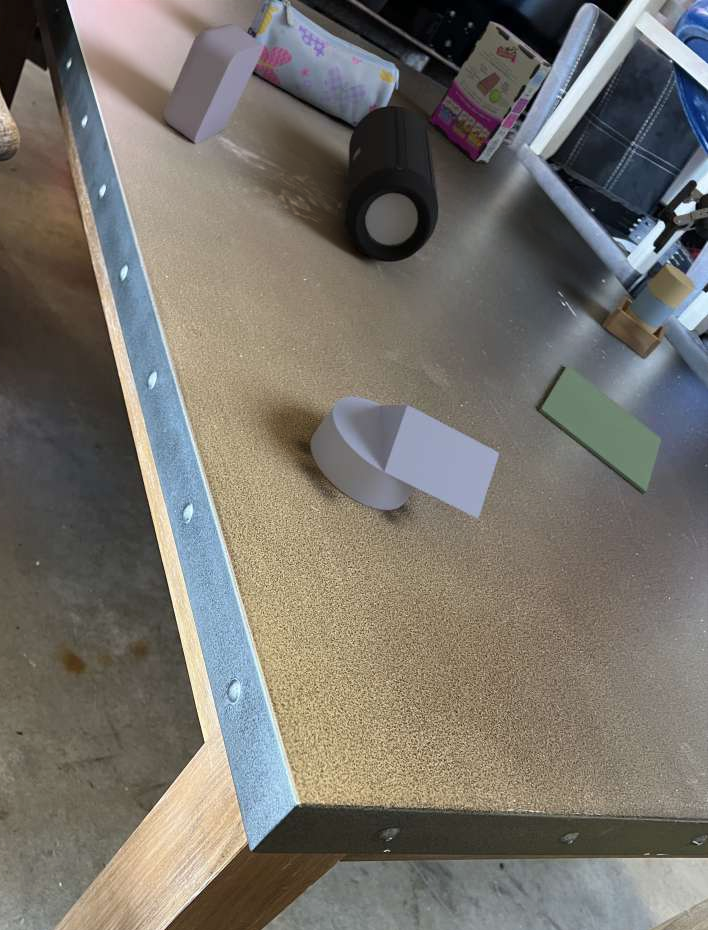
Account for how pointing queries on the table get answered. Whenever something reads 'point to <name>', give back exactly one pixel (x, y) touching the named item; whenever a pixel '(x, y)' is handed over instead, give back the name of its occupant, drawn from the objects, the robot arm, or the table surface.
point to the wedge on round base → (400, 456)
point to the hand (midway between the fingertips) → (682, 269)
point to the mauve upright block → (212, 81)
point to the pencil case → (320, 64)
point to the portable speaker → (390, 185)
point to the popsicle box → (489, 92)
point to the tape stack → (660, 298)
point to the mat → (603, 427)
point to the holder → (632, 330)
